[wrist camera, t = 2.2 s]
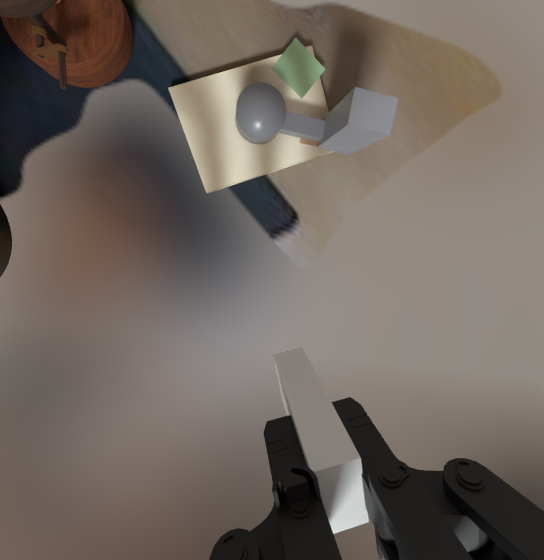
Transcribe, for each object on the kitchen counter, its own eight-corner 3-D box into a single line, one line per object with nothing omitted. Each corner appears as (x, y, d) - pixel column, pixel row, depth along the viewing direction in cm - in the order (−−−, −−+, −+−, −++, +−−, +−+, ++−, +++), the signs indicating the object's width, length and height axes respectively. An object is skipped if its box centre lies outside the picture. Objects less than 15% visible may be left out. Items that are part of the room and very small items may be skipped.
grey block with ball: (232, 139, 34) (234, 110, 25) (238, 89, 33) (244, 41, 24) (347, 164, 36) (387, 147, 27) (356, 119, 35) (401, 85, 26)
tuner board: (206, 193, 36) (206, 192, 34) (166, 81, 33) (163, 75, 32) (340, 149, 37) (344, 147, 36) (312, 37, 34) (316, 31, 33)
